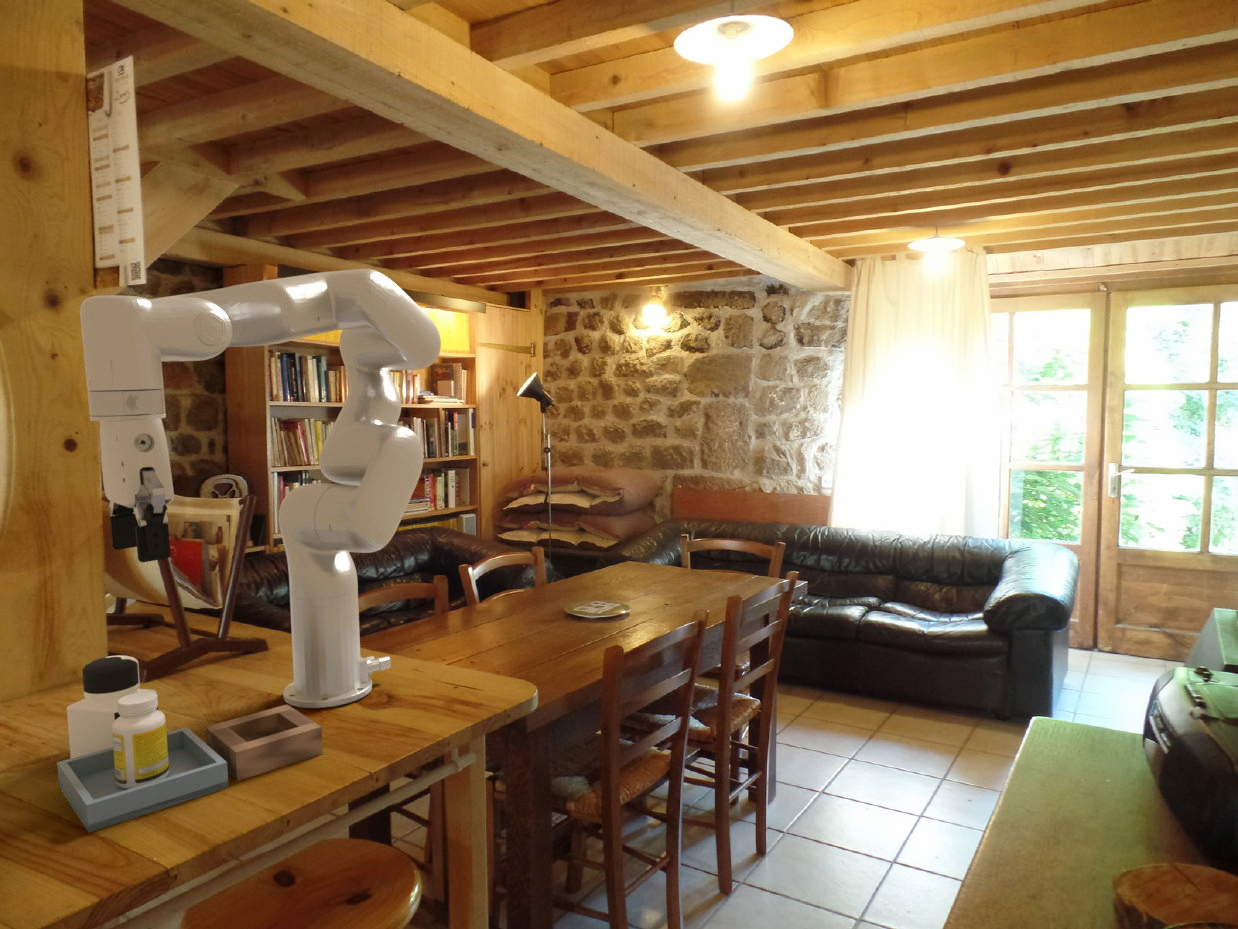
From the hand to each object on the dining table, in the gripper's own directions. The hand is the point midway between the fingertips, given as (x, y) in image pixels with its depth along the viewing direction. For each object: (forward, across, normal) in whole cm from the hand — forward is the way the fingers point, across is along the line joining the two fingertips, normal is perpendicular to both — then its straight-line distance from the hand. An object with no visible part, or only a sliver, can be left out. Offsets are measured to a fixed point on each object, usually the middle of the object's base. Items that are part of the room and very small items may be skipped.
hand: (140, 553), depth 98 cm
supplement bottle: (+26, -2, +3) cm, 26 cm away
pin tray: (+27, -3, +3) cm, 27 cm away
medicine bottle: (+27, +10, +2) cm, 29 cm away
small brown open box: (+27, -4, -11) cm, 29 cm away
